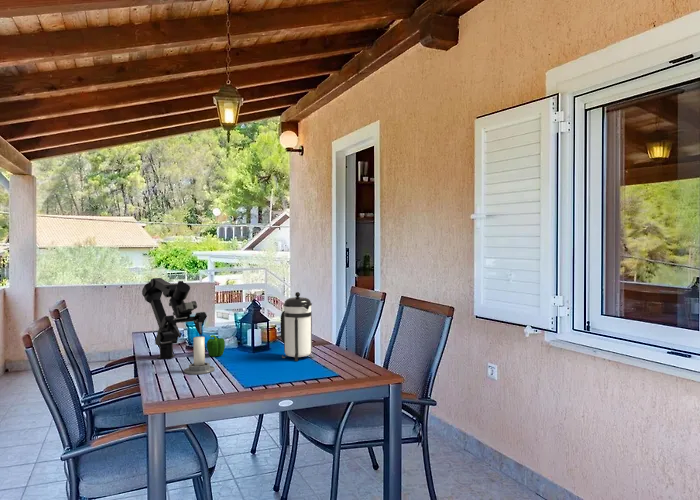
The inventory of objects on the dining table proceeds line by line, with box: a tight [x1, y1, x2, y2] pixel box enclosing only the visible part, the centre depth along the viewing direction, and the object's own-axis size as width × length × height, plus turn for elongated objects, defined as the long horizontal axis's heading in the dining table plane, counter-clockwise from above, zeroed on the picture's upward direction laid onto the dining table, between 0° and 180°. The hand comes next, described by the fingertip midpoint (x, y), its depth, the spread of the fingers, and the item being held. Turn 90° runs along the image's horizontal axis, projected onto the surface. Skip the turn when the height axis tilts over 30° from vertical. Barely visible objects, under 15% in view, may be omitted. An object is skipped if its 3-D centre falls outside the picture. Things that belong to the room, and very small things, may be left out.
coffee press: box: [280, 291, 316, 362], centre depth 242 cm, size 17×16×30 cm
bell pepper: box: [206, 334, 226, 358], centre depth 247 cm, size 8×8×10 cm
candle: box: [193, 336, 206, 367], centre depth 219 cm, size 4×4×13 cm
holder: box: [184, 361, 216, 376], centre depth 219 cm, size 12×12×3 cm
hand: (190, 335), depth 224 cm, fingers open, 9 cm apart
